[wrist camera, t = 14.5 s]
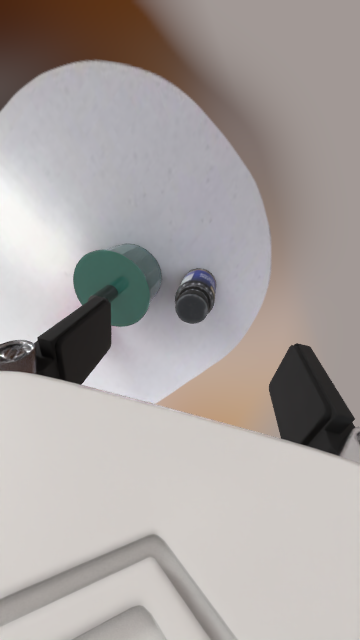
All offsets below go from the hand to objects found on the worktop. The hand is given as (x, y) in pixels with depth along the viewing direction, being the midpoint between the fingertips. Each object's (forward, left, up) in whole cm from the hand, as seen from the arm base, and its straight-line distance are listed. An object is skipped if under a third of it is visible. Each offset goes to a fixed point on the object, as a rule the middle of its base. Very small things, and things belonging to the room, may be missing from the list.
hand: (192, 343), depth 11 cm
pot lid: (+14, +8, -20) cm, 26 cm away
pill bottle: (+1, +7, -28) cm, 29 cm away
